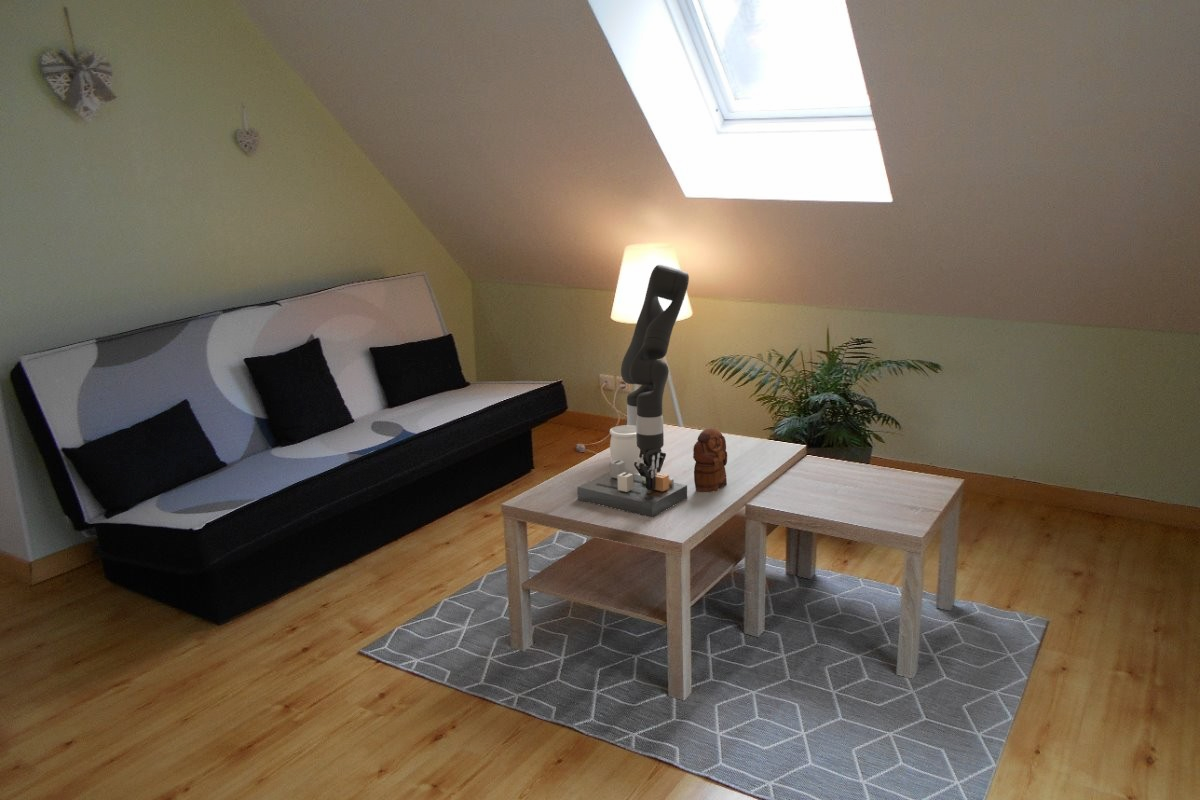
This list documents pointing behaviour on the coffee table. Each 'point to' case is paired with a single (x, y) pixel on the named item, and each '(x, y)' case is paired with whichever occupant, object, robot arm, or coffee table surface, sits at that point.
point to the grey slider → (616, 468)
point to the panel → (631, 495)
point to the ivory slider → (625, 482)
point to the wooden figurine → (710, 461)
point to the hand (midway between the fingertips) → (650, 489)
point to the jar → (625, 447)
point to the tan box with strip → (662, 482)
